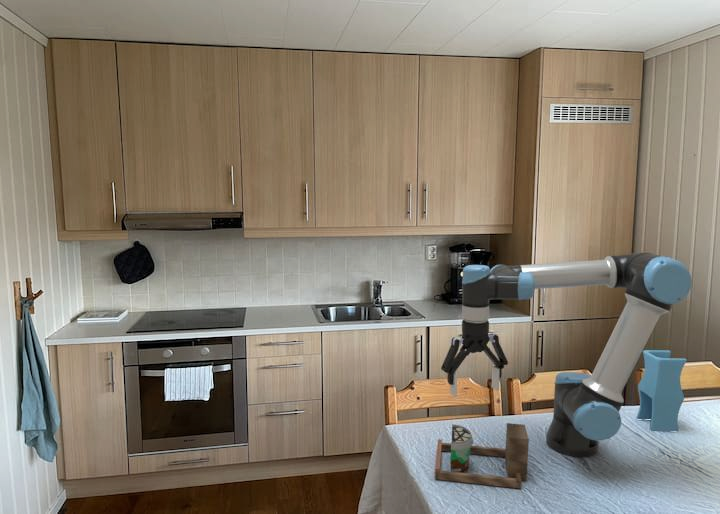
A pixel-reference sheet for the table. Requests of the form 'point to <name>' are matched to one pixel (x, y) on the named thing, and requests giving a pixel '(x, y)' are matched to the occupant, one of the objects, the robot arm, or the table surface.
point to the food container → (460, 448)
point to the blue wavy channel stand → (661, 390)
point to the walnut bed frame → (513, 455)
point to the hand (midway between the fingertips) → (474, 392)
